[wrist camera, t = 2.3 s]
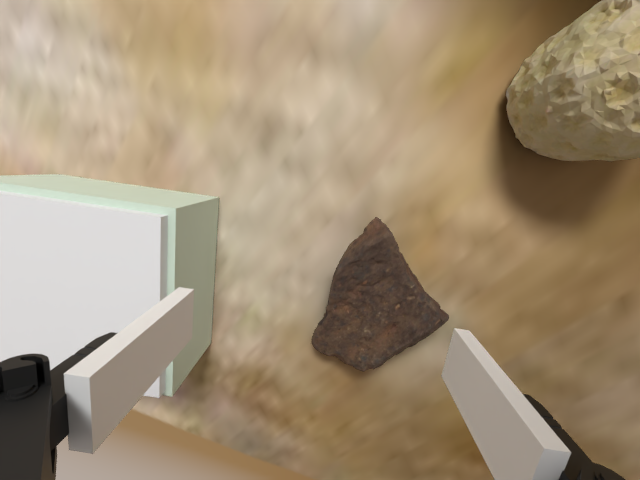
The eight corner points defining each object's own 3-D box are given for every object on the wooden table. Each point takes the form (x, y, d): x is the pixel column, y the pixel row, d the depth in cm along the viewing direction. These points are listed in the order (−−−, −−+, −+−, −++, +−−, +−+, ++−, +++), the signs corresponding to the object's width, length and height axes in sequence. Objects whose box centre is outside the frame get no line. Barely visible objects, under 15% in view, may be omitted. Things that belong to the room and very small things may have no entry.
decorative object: (551, 166, 26) (748, 143, 18) (488, 176, 21) (724, 151, 13) (550, 52, 25) (765, -31, 16) (483, 33, 20) (745, -103, 11)
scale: (58, 174, 26) (-57, 177, 18) (219, 197, 26) (169, 210, 18) (70, 329, 29) (-23, 385, 22) (210, 351, 29) (166, 416, 22)
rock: (374, 213, 25) (381, 222, 21) (445, 304, 27) (462, 327, 23) (273, 289, 27) (264, 309, 23) (345, 369, 29) (347, 398, 25)
